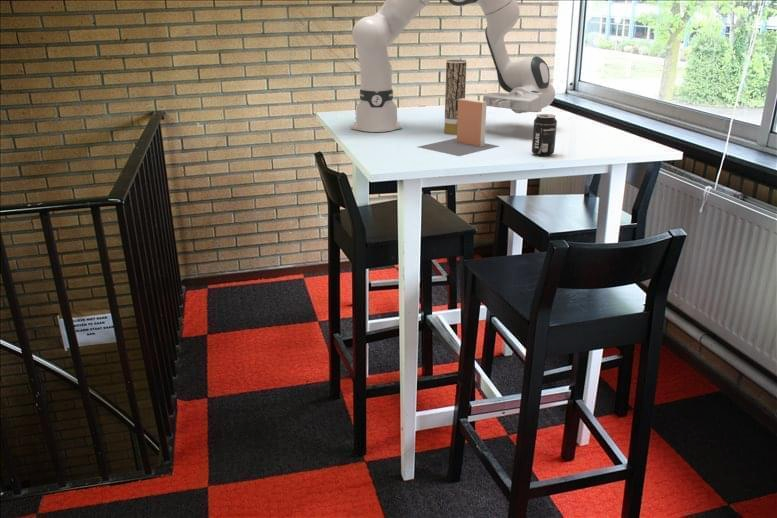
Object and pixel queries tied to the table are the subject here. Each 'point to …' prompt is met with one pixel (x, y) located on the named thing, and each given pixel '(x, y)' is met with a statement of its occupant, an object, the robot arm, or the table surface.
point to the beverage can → (544, 135)
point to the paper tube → (454, 93)
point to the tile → (471, 122)
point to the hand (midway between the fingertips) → (496, 104)
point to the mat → (456, 147)
